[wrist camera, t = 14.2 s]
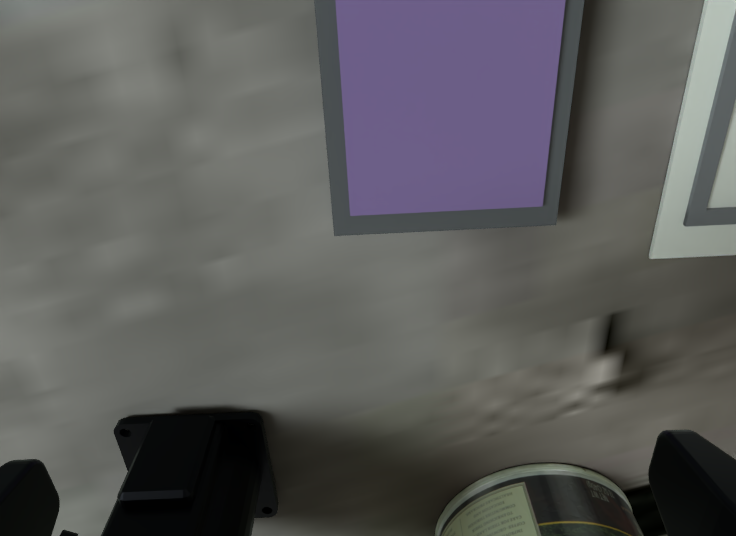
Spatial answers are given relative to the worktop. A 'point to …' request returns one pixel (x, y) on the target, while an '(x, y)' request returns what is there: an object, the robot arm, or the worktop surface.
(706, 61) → the sheet
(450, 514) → the coffee can
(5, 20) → the worktop surface
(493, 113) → the ink pad
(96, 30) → the worktop surface
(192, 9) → the worktop surface
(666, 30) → the worktop surface
